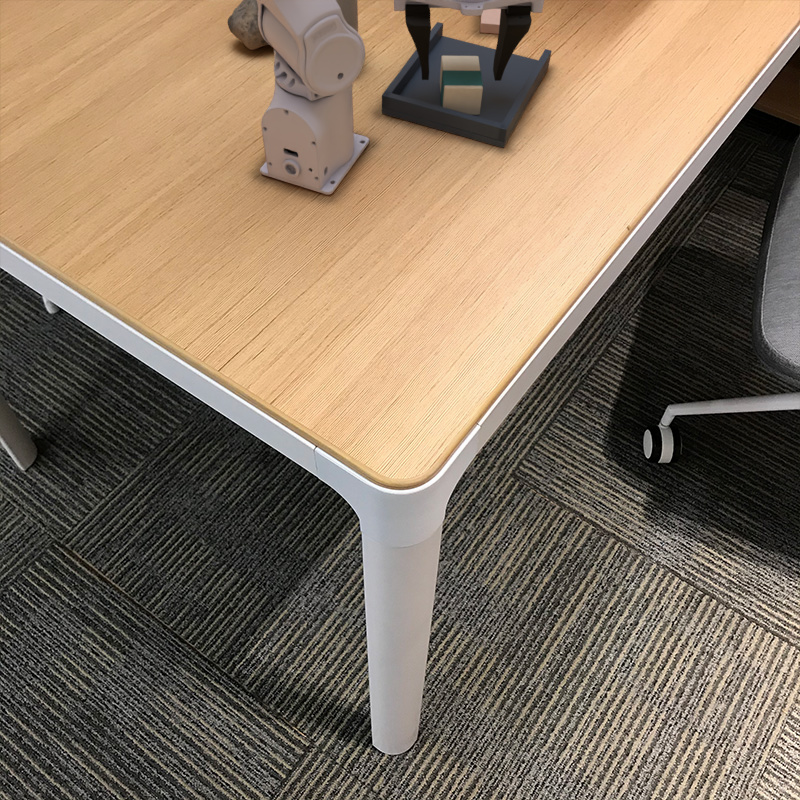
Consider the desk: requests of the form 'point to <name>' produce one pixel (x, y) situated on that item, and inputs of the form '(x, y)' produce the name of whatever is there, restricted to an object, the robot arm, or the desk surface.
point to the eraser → (461, 84)
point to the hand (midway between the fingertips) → (461, 75)
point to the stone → (247, 24)
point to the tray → (498, 100)
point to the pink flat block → (490, 21)
